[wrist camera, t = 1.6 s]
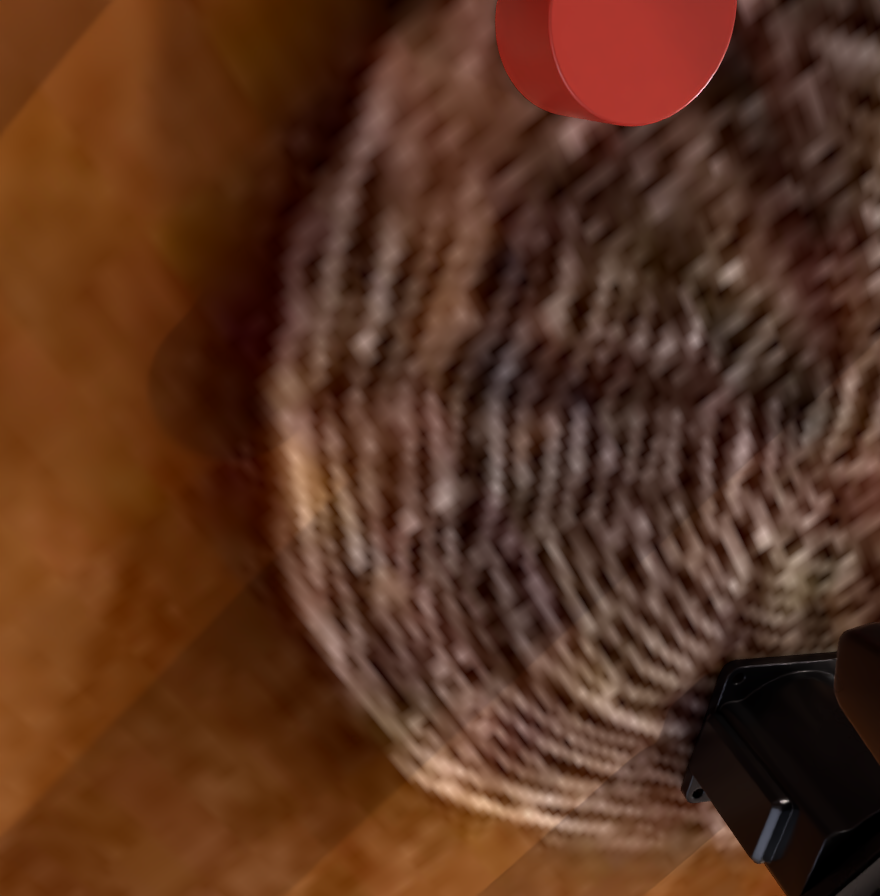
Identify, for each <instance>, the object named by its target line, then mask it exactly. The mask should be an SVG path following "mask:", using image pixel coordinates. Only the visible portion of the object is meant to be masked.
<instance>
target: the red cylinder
mask: <svg viewBox="0 0 880 896" xmlns="http://www.w3.org/2000/svg"><path fill="white" fill-rule="evenodd" d="M736 7H737V0H497V5H496V17H495V28H496V39H497V46H498V50H499V54H500V58H501V60H502V63H503V66H504V68H505V70H506V72H507V74H508V76H509V78H510V80H511V81H512V83H513V84H514V85H515V87H516V88H517V89H518V91H519V92H520V93H521V94H522V95H523V96H524V97H525V98H526V99H528V100H529V101H530V102H531V103H533V104H534V105H536V106H538V107H539V108H541V109H543V110H545V111H548V112H550V113H554V114H558V115H563V116H568V117H574V118H580V119H586V120H591V121H597V122H603V123H609V124H614V125H620V126H642V125H648V124H652V123H656V122H658V121H661V120H663V119H666V118H668V117H670V116H672V115H673V114H675V113H677V112H679V111H680V110H681V109H683V108H684V107H685V106H687V105H688V104H689V103H690V102H691V101H692V100H693V99H695V98H696V97H697V96H698V95H699V94H700V93H701V91H702V90H703V89H704V88H705V87H706V86H707V84H708V83H709V82H710V80H711V79H712V77H713V76H714V74H715V73H716V71H717V69H718V67H719V65H720V64H721V62H722V60H723V58H724V55H725V53H726V50H727V48H728V45H729V42H730V39H731V35H732V32H733V27H734V22H735V17H736Z"/></svg>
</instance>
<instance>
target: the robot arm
mask: <svg viewBox="0 0 880 896" xmlns="http://www.w3.org/2000/svg"><path fill="white" fill-rule="evenodd" d="M681 791H682V793H683V795H684V796H685V798H686V799H687V801H688V802H690V803H699V802H706V801H711V802H712V803H713V805H714V806H715V808H716V809H717V811H718V812H719V814H720V815H721V816H722V818H723V819H724V821H725V822H726V824H727V825H728V827H729V828H730V830H731V831H732V832H733V834H734V835H735V837H736V838H737V840H738V841H739V843H740V844H741V846H742V847H743V848H744V850H745V851H746V853H747V854H748V856H749V857H750V858H751V859H752V860H753V861H754V862H755V863H757V864H761V863H764V864H765V866H766V867H767V869H768V870H769V871H770V873H771V874H772V876H773V877H774V879H775V880H776V881H777V883H778V884H779V886H780V887H781V889H782V890H783V891H784V893H785V894H786V896H880V623H878V622H873V623H868V624H865V625H862V626H859V627H856V628H853V629H850V630H847V631H845V632H843V634H842V635H841V637H840V638H839V642H838V651H837V652H830V653H817V654H804V655H792V656H779V657H766V658H753V659H740V660H734V661H731V662H729V663H727V664H726V665H725V666H724V667H723V668H722V670H721V672H720V675H719V678H718V680H717V683H716V686H715V689H714V692H713V695H712V698H711V701H710V704H709V707H708V710H707V713H706V716H705V719H704V722H703V724H702V727H701V730H700V733H699V736H698V739H697V742H696V745H695V748H694V751H693V754H692V757H691V760H690V763H689V766H688V768H687V771H686V774H685V777H684V780H683V783H682V786H681Z"/></svg>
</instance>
